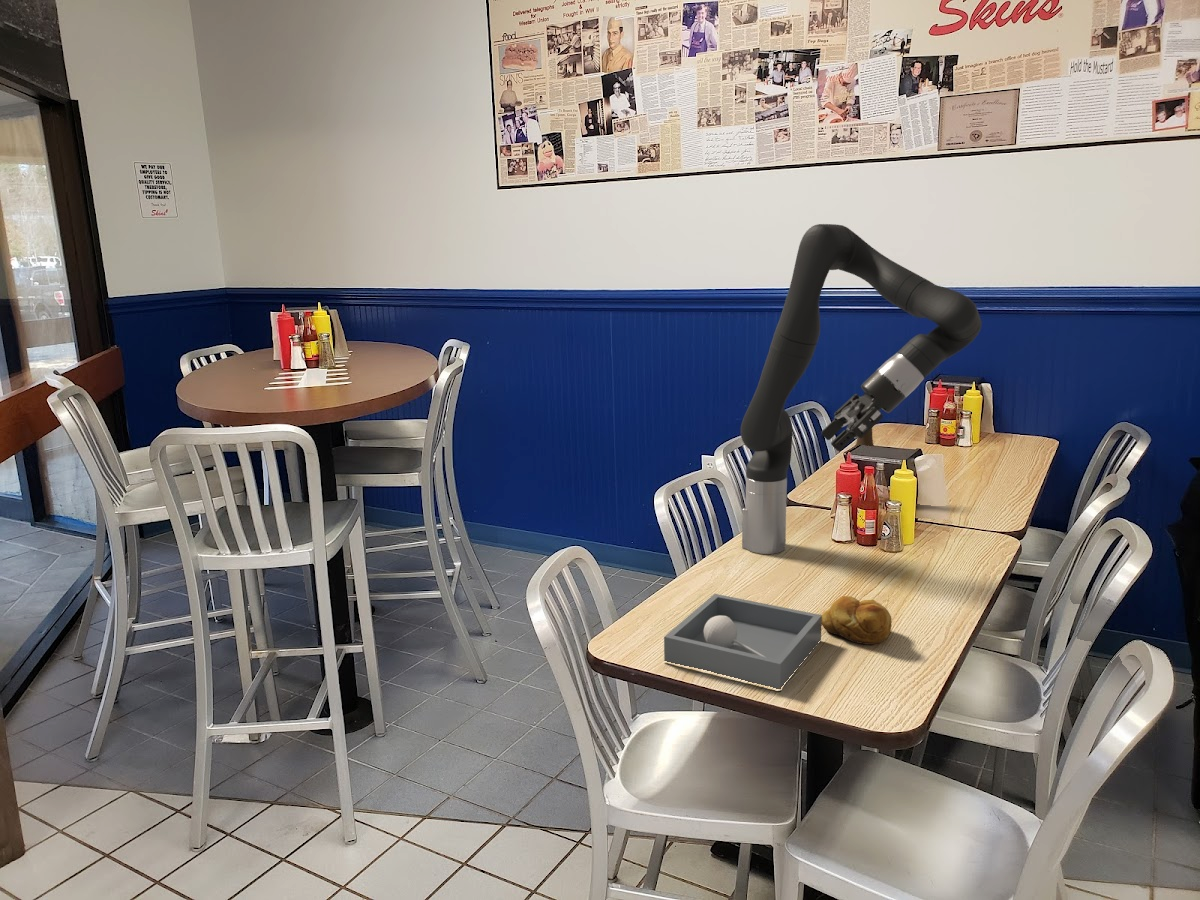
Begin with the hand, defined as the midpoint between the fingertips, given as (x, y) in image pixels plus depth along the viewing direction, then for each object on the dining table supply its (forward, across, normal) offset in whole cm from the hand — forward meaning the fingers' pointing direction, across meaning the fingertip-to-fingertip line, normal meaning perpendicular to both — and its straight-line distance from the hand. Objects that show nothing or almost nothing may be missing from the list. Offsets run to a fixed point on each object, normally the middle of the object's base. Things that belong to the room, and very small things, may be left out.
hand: (829, 442), depth 173 cm
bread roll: (+21, +17, +25) cm, 37 cm away
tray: (+36, +23, +10) cm, 44 cm away
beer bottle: (+6, -63, +41) cm, 75 cm away
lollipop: (+32, +31, +12) cm, 46 cm away
